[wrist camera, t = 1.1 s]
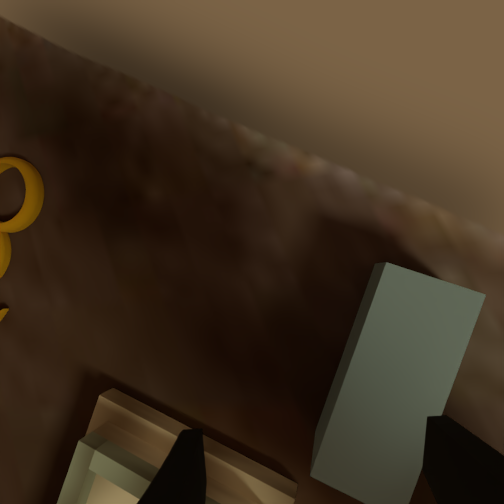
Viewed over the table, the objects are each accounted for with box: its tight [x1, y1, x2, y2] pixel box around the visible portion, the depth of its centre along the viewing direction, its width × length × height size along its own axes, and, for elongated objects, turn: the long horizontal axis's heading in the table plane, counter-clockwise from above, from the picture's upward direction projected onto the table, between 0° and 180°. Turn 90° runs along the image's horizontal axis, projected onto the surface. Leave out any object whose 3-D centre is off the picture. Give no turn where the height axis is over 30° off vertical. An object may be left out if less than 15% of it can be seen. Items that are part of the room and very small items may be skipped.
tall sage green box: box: [310, 262, 486, 504], centre depth 19 cm, size 4×11×5 cm, turn 161°
